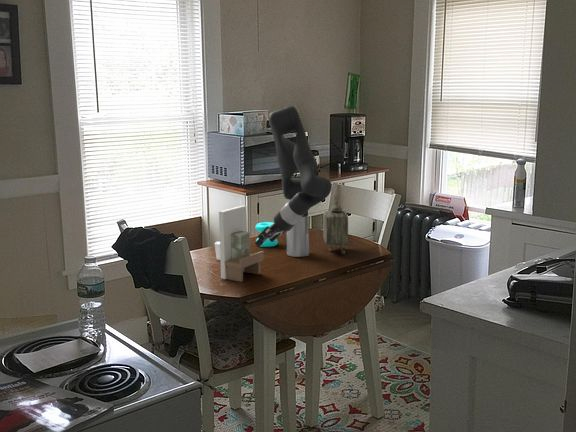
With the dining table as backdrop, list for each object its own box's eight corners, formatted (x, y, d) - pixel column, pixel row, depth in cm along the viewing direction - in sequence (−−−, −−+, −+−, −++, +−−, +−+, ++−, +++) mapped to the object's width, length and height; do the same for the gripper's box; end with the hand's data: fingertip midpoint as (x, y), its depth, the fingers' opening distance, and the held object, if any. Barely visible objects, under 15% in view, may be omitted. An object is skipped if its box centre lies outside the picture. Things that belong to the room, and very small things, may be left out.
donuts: (271, 220, 294) (281, 224, 285) (271, 241, 296) (281, 246, 288) (251, 223, 289) (261, 227, 281) (252, 244, 291) (262, 248, 283)
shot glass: (224, 261, 263) (224, 245, 262) (211, 259, 267) (211, 243, 265) (234, 257, 269) (234, 241, 267) (221, 255, 272) (221, 239, 271)
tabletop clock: (347, 255, 271) (348, 198, 266) (326, 255, 270) (327, 198, 265) (342, 246, 285) (343, 192, 280) (322, 247, 284) (323, 192, 279)
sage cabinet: (252, 257, 242) (251, 232, 240) (243, 261, 238) (242, 235, 236) (240, 255, 245) (240, 230, 243) (231, 259, 241) (231, 233, 239)
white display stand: (264, 273, 246) (263, 208, 241) (241, 282, 235) (240, 214, 229) (243, 269, 251) (242, 205, 246) (221, 278, 240) (218, 211, 235)
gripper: (293, 204, 232) (268, 230, 241) (271, 211, 221) (246, 238, 230) (306, 220, 231) (280, 246, 239) (284, 227, 219) (258, 254, 228)
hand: (263, 242), depth 234 cm, fingers open, 8 cm apart
